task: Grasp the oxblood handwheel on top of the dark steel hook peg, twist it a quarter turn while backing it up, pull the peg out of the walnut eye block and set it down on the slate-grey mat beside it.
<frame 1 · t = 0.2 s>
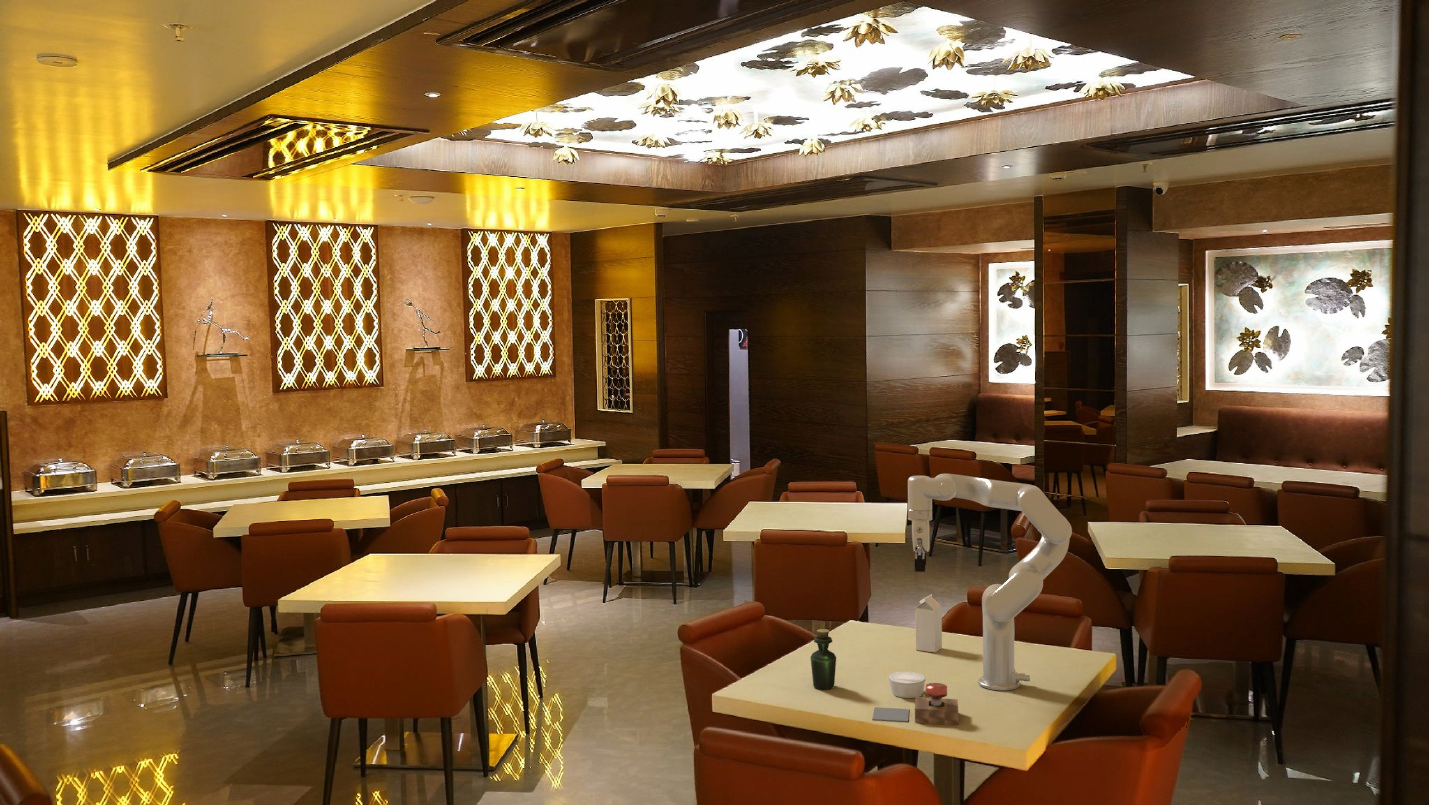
hand: (920, 568, 326), 36 cm above the table, tool pointing down, fingers open, 9 cm apart
slate mat: (890, 715, 298), on the table
ramekin: (907, 694, 316), on the table
milk carton: (928, 649, 363), on the table
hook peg: (936, 702, 295), in the eye block
eye block: (936, 717, 295), on the table
potion bottle: (823, 687, 324), on the table
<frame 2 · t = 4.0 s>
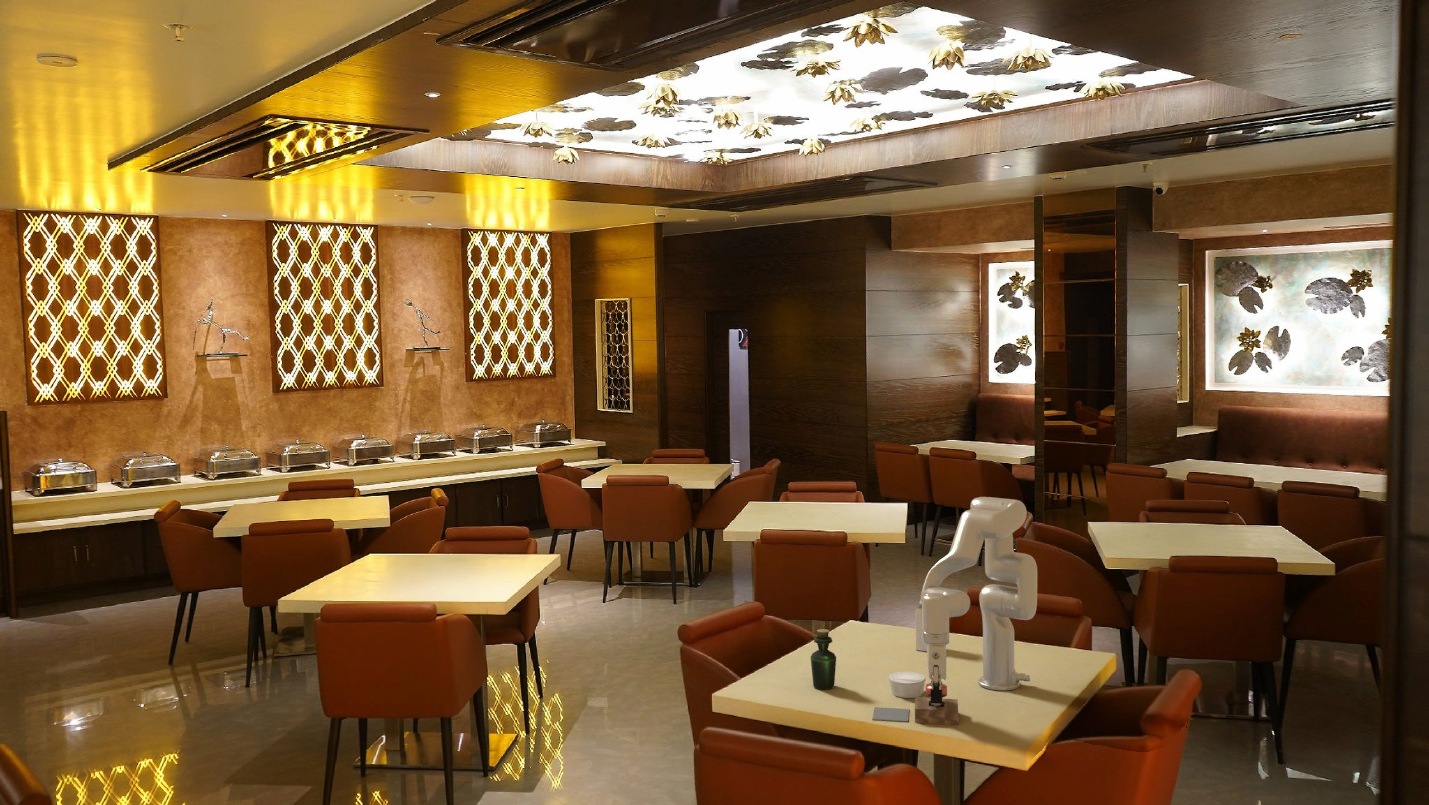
hand: (936, 698, 295), 6 cm above the table, tool pointing down, fingers closed on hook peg, 6 cm apart
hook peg: (936, 702, 295), in the eye block, touching gripper
everything else where it was.
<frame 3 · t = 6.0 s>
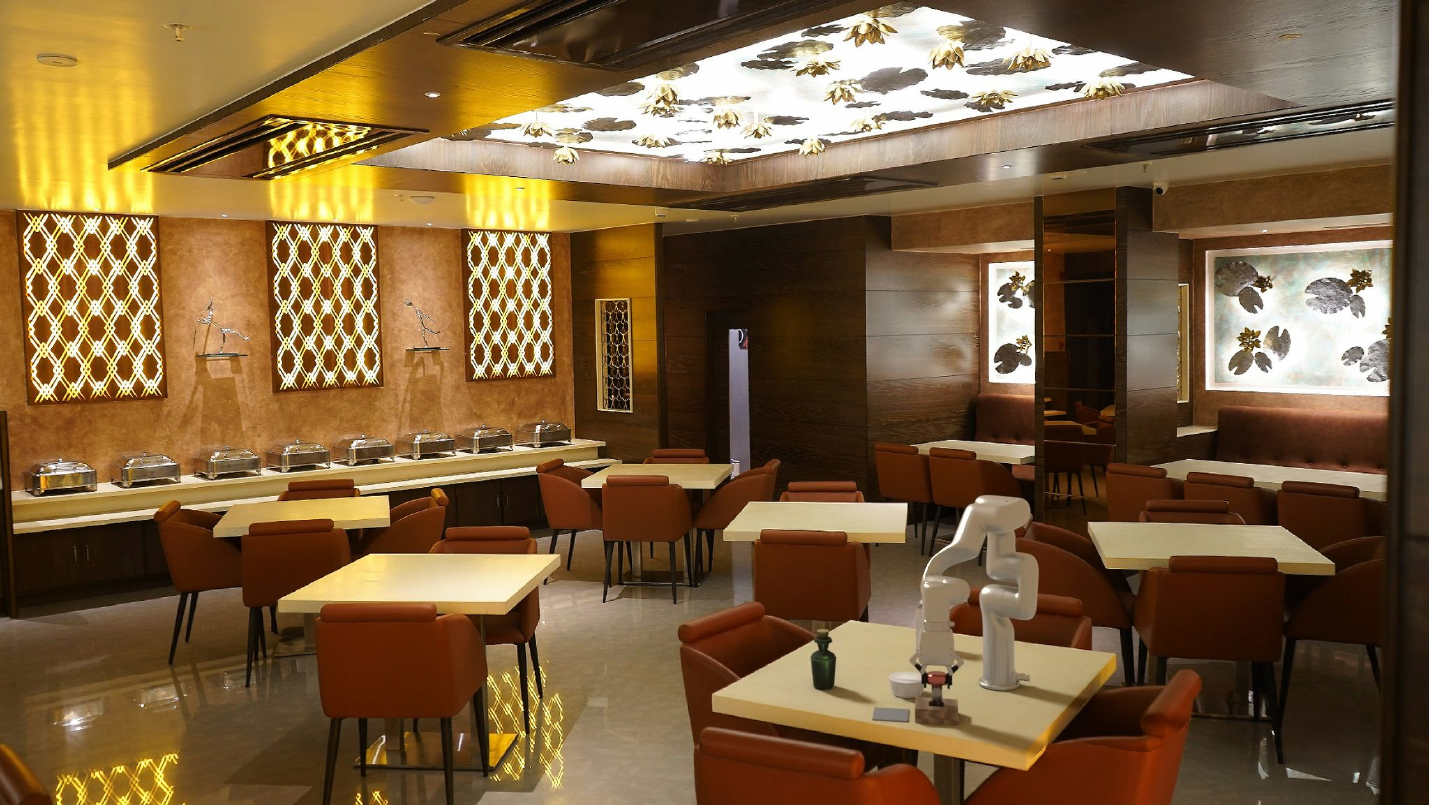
hand: (936, 686, 295), 9 cm above the table, tool pointing down, fingers closed on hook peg, 6 cm apart
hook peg: (936, 690, 295), point 8 cm above the table, touching gripper
everything else where it was.
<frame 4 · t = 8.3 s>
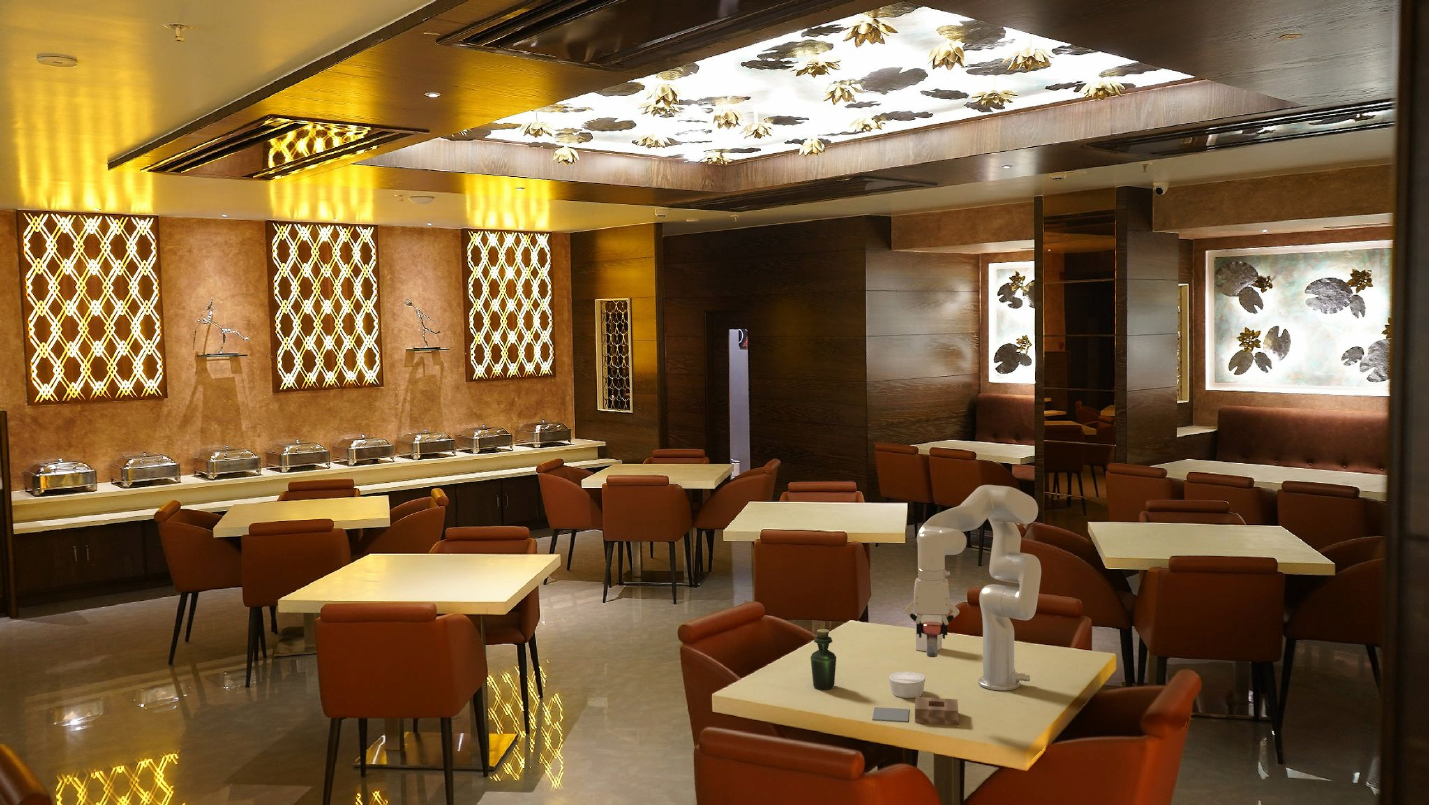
hand: (931, 636, 294), 24 cm above the table, tool pointing down, fingers closed on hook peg, 6 cm apart
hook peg: (932, 640, 294), point 23 cm above the table, touching gripper
everything else where it was.
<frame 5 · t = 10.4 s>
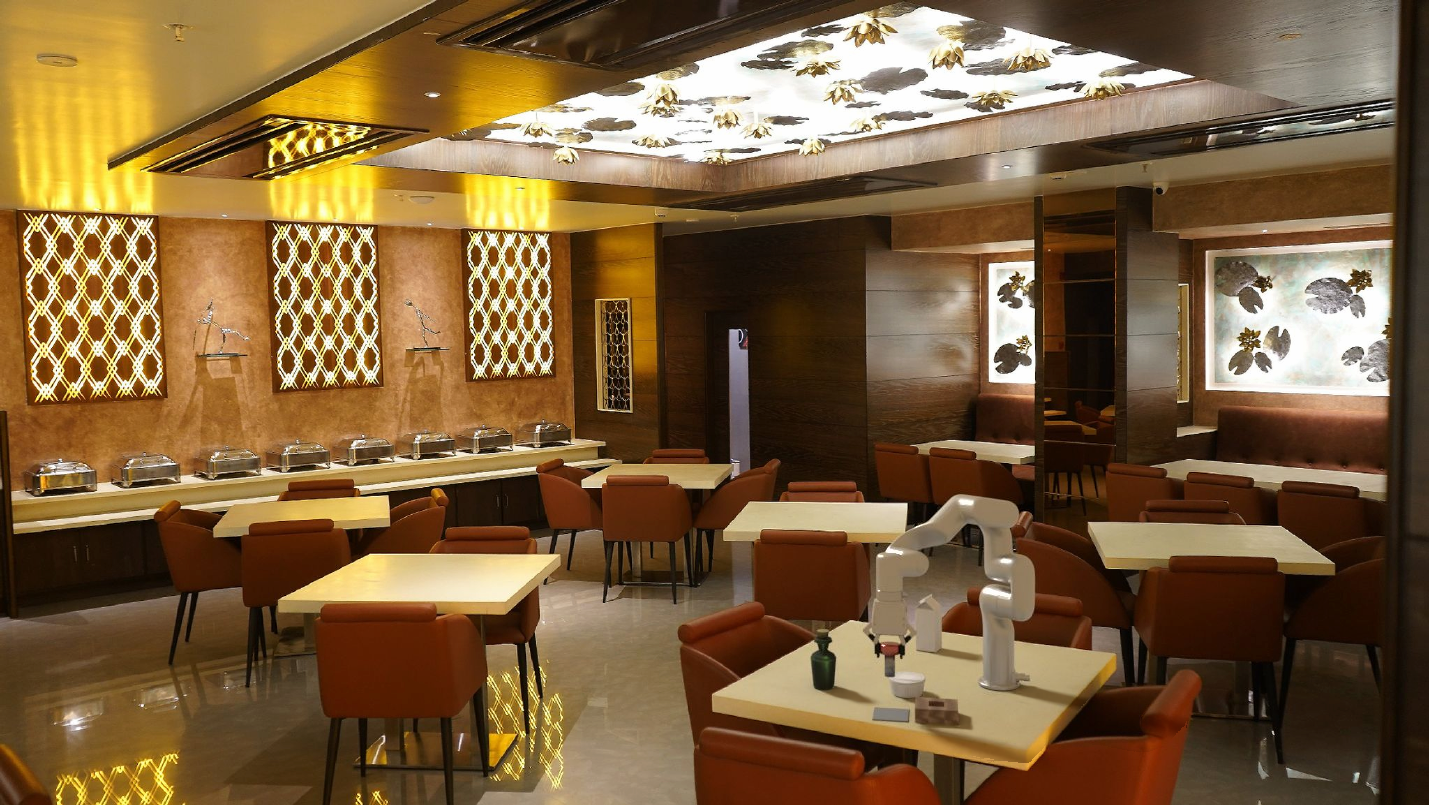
hand: (889, 656, 297), 17 cm above the table, tool pointing down, fingers closed on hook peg, 6 cm apart
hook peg: (889, 660, 297), point 16 cm above the table, touching gripper
everything else where it was.
when the fingers open (7 cm above the table, at t = 12.6 s): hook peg drops 1 cm, resting on slate mat.
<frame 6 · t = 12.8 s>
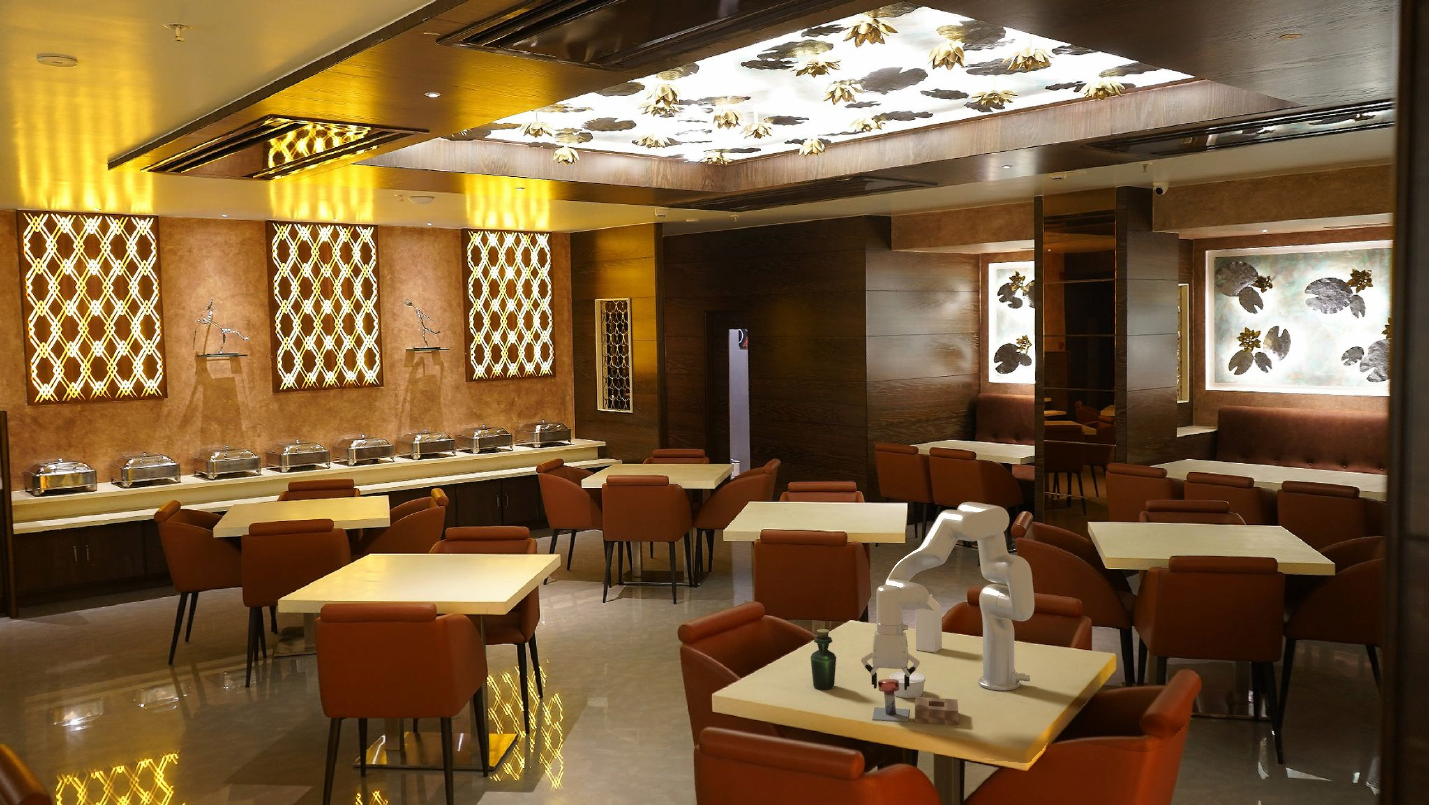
hand: (890, 687, 297), 8 cm above the table, tool pointing down, fingers open, 8 cm apart
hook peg: (889, 697, 298), resting on slate mat, tilted 7°
everything else where it was.
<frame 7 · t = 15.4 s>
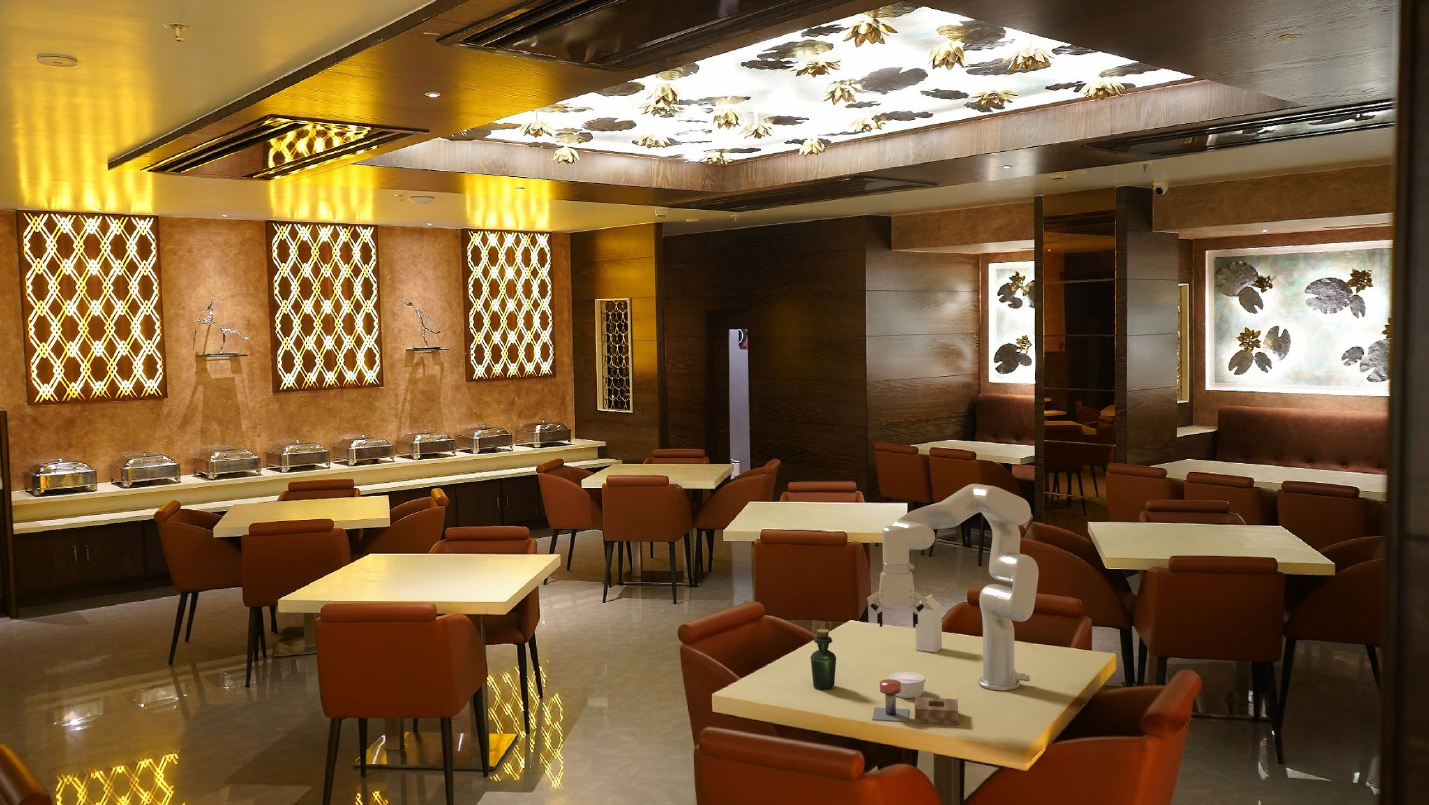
hand: (897, 626, 300), 25 cm above the table, tool pointing down, fingers open, 9 cm apart
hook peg: (890, 698, 297), resting on slate mat
everything else where it was.
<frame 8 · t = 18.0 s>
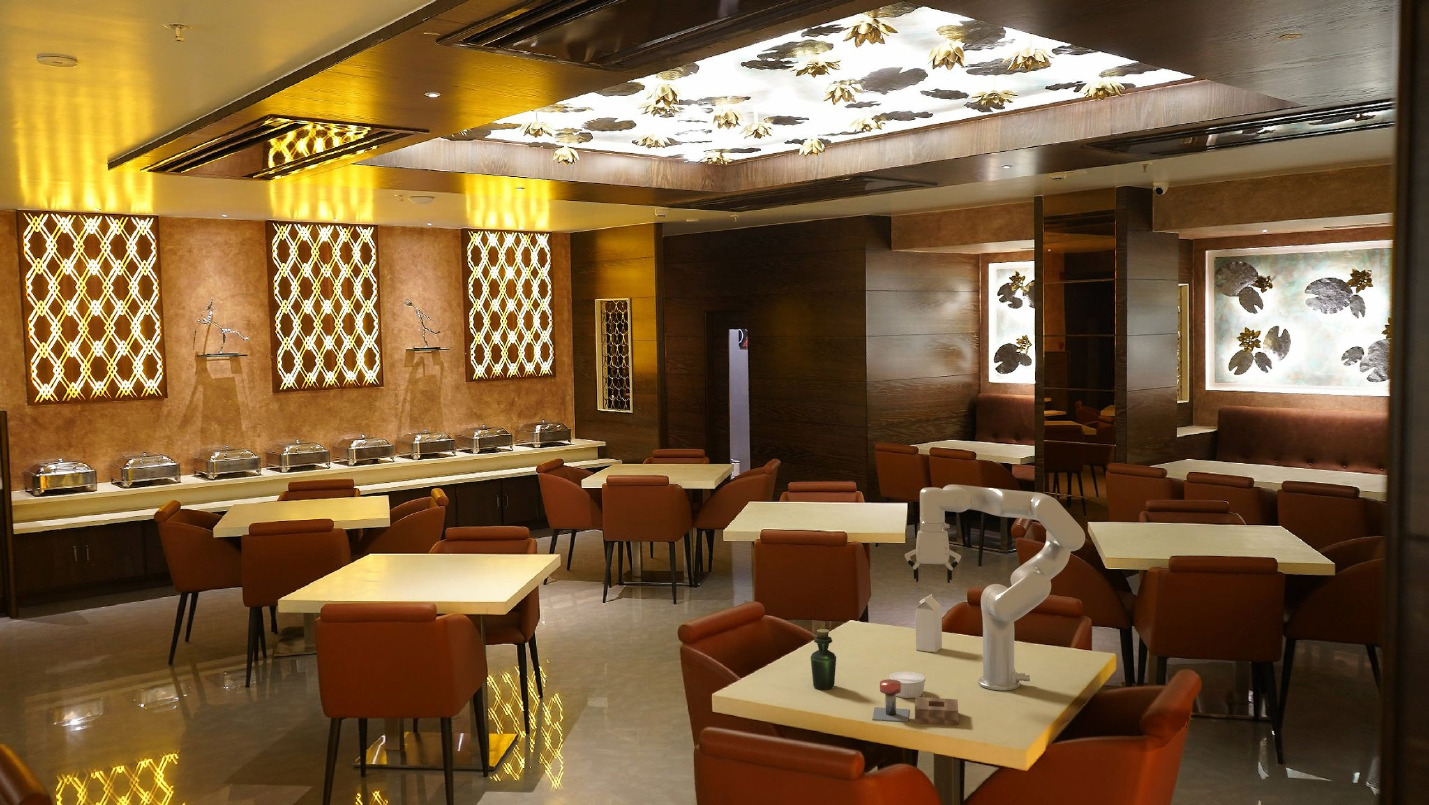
hand: (932, 581, 321), 33 cm above the table, tool pointing down, fingers open, 9 cm apart
nothing on the table moved.
at the end: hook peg inside the target area (0.0 cm from its centre), resting on slate mat; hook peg touching slate mat; the gripper is holding nothing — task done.
